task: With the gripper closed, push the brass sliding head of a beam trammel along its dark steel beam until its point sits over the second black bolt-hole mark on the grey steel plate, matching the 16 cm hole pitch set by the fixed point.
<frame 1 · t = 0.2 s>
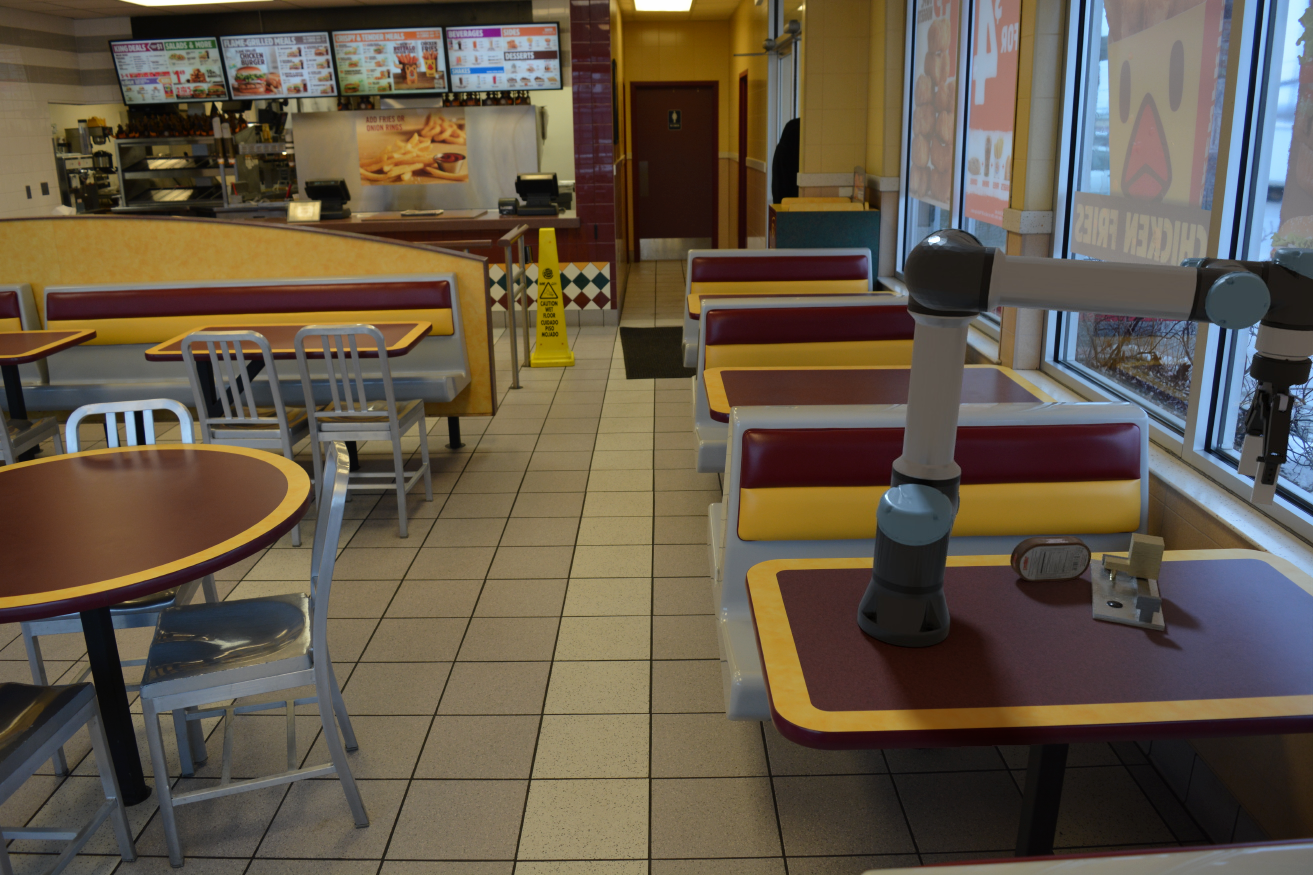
hand: (1253, 488, 149), 28 cm above the table, fingers open, 13 cm apart
tin: (1048, 580, 180), on the table
trammel beam: (1139, 597, 173), resting on bolt plate
sliding head: (1132, 559, 175), point 6 cm above the table, slide at 0.0 cm
bolt plate: (1124, 594, 174), on the table
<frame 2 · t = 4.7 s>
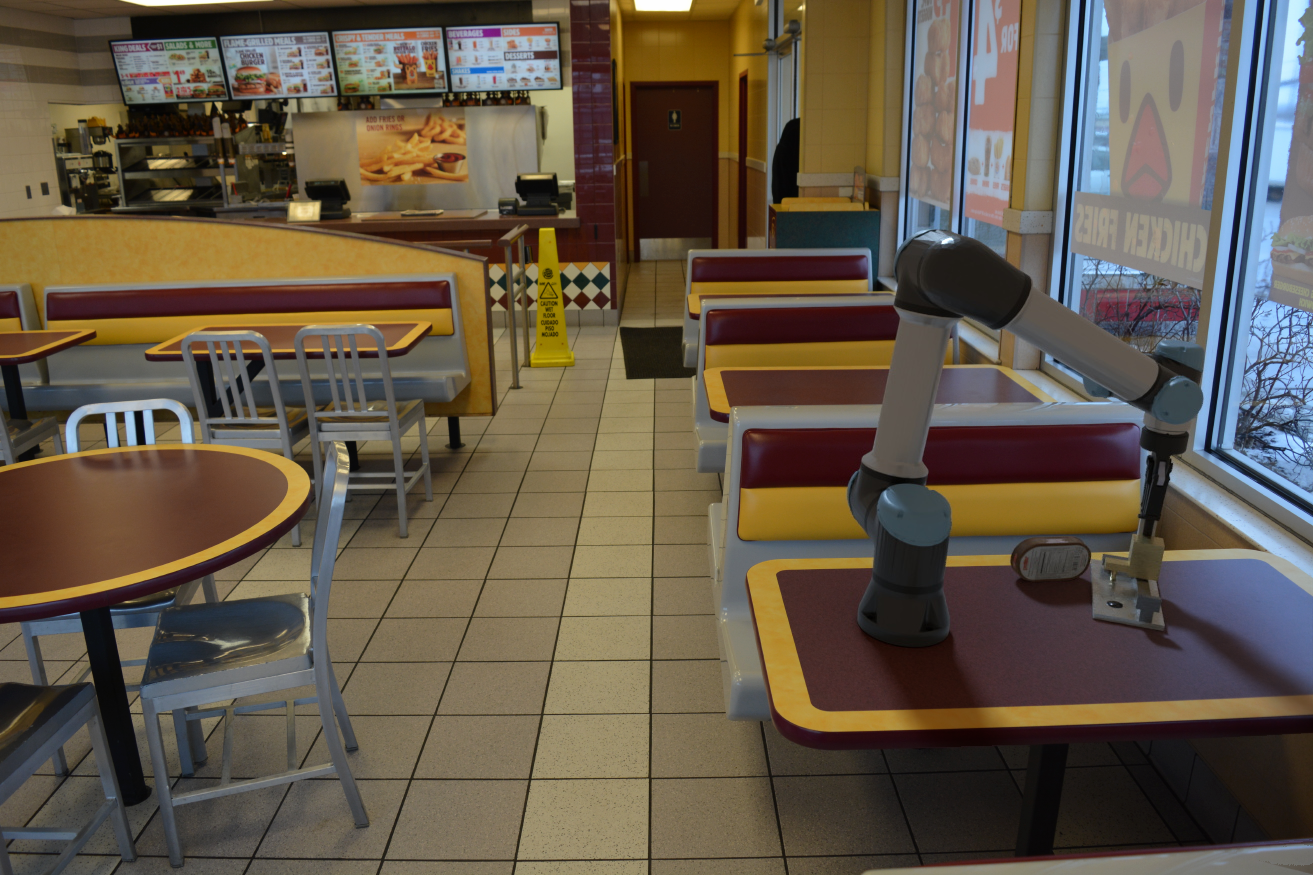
hand: (1142, 549, 177), 7 cm above the table, fingers closed
sliding head: (1132, 560, 175), point 6 cm above the table, slide at 0.4 cm, touching gripper
everything else where it was.
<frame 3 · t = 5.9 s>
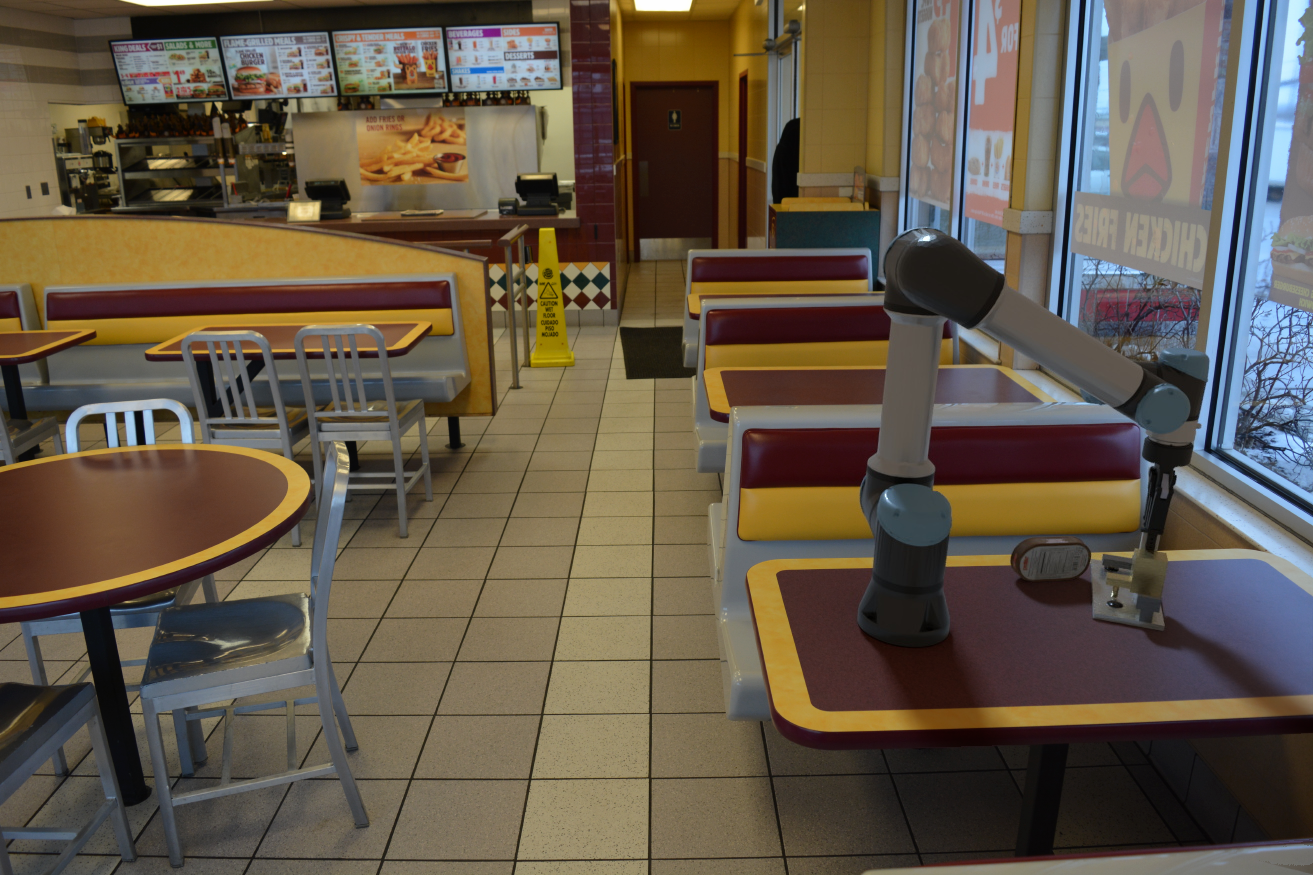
hand: (1145, 564, 171), 7 cm above the table, fingers closed
sliding head: (1134, 576, 168), point 6 cm above the table, slide at 7.3 cm, touching gripper
everything else where it was.
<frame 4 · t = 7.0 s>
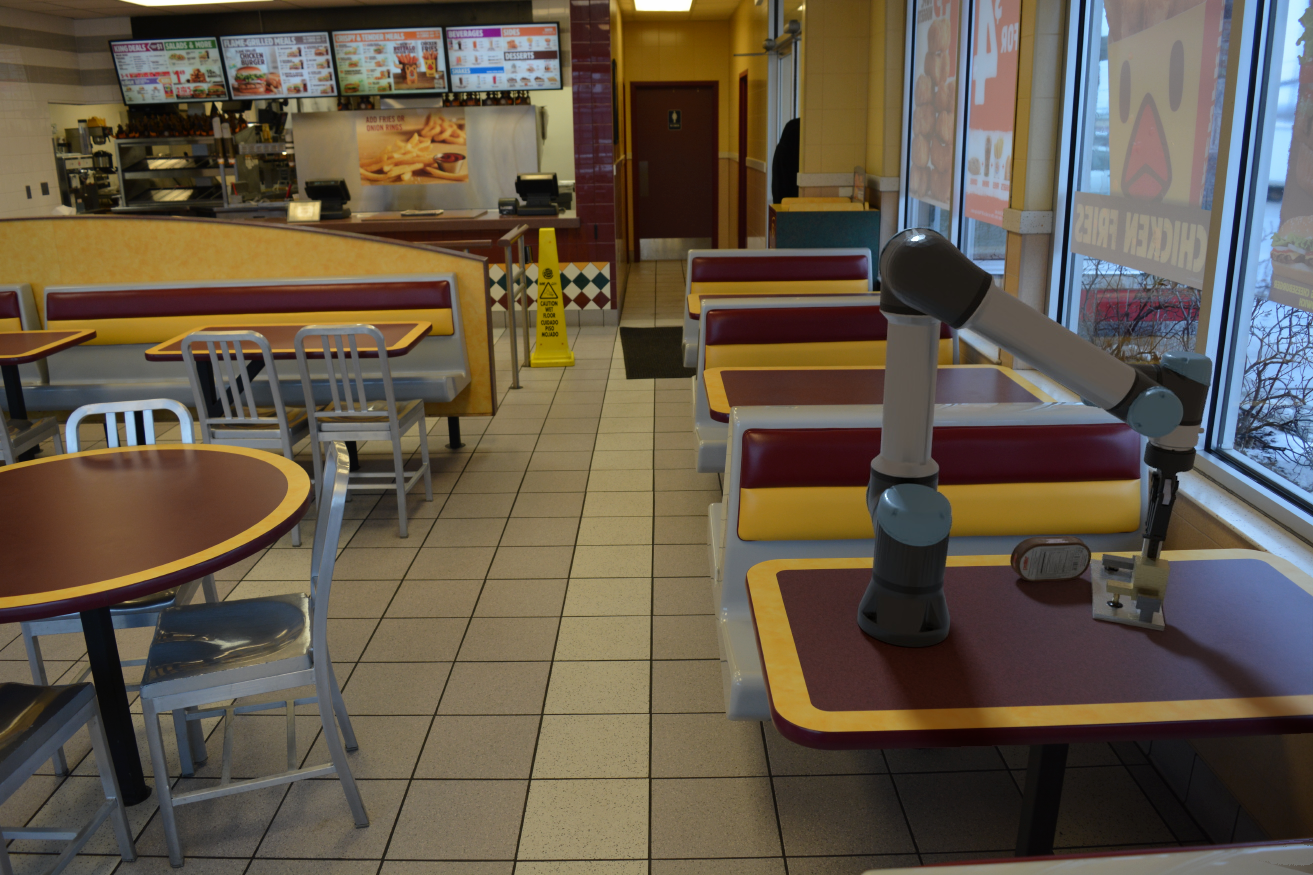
hand: (1147, 571, 168), 7 cm above the table, fingers closed
sliding head: (1135, 583, 166), point 6 cm above the table, slide at 10.5 cm, touching gripper
everything else where it was.
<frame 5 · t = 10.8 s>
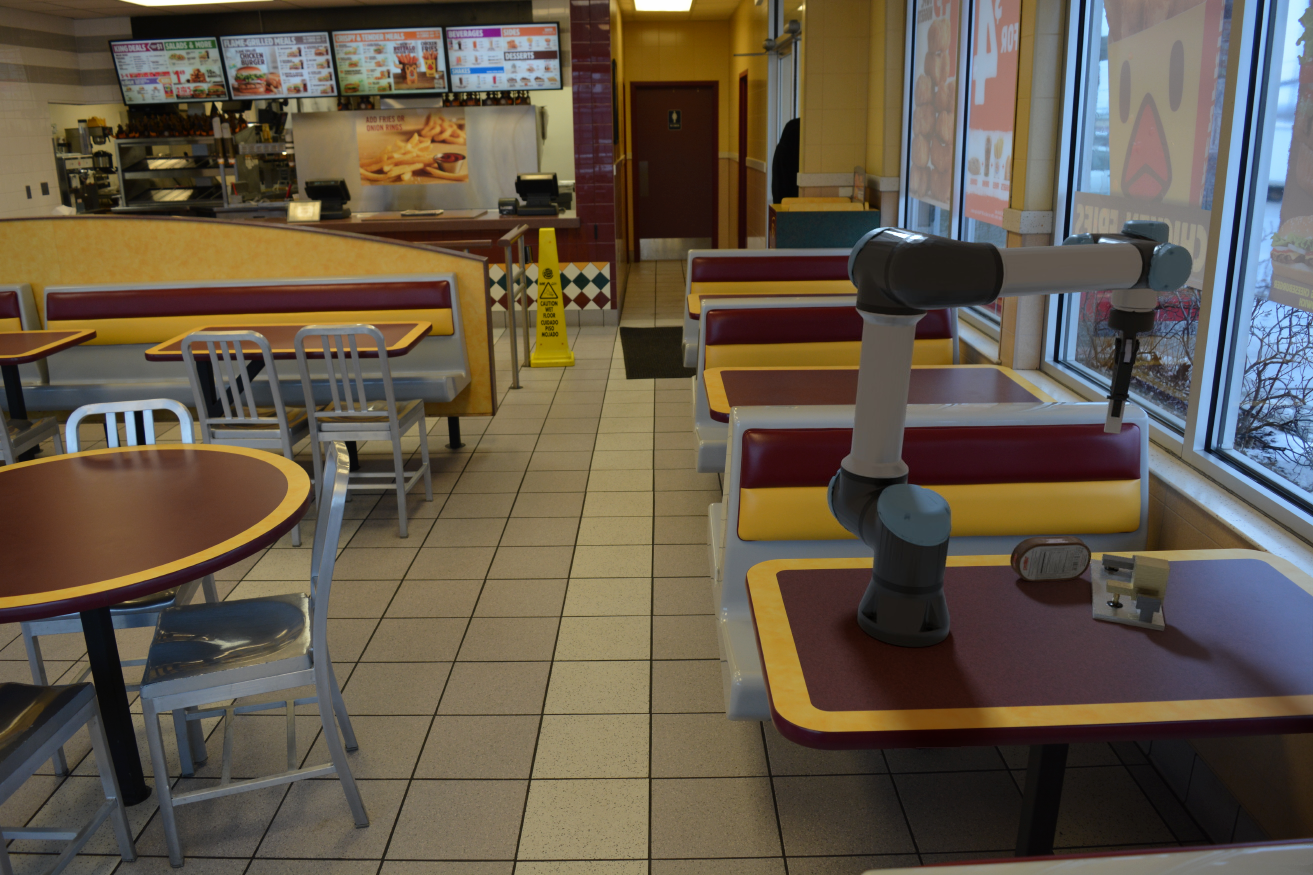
hand: (1111, 431, 180), 26 cm above the table, fingers closed
sliding head: (1135, 583, 166), point 6 cm above the table, slide at 10.5 cm
everything else where it was.
at the end: sliding head slide at 10.5 cm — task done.
